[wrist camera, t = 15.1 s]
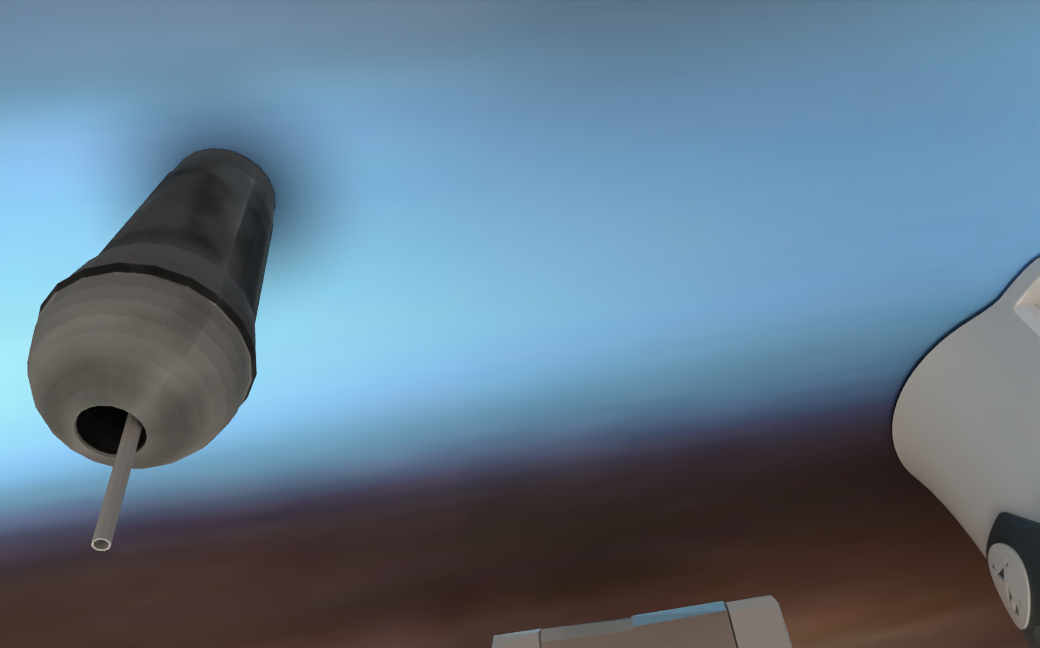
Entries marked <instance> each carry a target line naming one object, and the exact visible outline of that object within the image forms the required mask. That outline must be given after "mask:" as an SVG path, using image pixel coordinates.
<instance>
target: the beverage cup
mask: <svg viewBox="0 0 1040 648" xmlns="http://www.w3.org/2000/svg"><path fill="white" fill-rule="evenodd" d="M274 209H275V193H274V191H273V188H272V186H271V183H270V180H269V179H268V177H267V176H266V175H265V174H264V172H263V171H262V170H261V169H260V167H259V166H257V165H256V164H255V163H253V162H252V161H251V160H249V159H248V158H246V157H245V156H242V155H240V154H237V153H234V152H232V151H229V150H220V149H208V150H203V151H198V152H195V153H193V154H191V155H190V156H188V157H186V158H185V159H183V160H182V161H181V163H180V164H179V165H178V166H177V167H176V168H175V169H174V170H173V171H171V172H169V174H168V175H167V176H166V177H165V178H164V179H163V181H162V182H161V183H160V184H159V185H158V186H157V188H156V189H155V190H154V191H153V192H152V193H151V195H150V196H149V197H148V198H147V199H146V200H145V202H144V203H143V204H142V205H141V206H140V207H139V209H138V210H137V211H136V212H135V213H134V214H133V216H132V217H131V218H130V219H129V220H128V221H127V222H126V224H125V225H124V226H123V227H122V228H121V229H120V231H119V232H118V233H117V234H116V235H115V236H114V238H113V239H112V240H111V241H110V242H109V243H108V245H107V246H106V247H105V248H104V249H103V250H102V252H101V253H100V254H99V255H98V256H96V257H95V258H93V259H91V260H89V261H88V262H87V263H85V264H84V265H83V266H82V267H81V268H79V269H78V270H77V271H76V272H74V273H73V274H72V275H71V276H70V277H68V278H67V279H65V280H63V281H61V282H60V283H58V284H57V285H56V286H55V288H54V289H53V290H52V292H51V293H50V294H49V295H48V297H47V298H46V299H45V301H44V302H43V303H42V305H41V307H40V312H39V316H38V321H37V324H36V326H35V330H34V334H33V338H32V343H31V348H30V352H29V357H28V362H27V365H28V378H29V382H30V386H31V391H32V395H33V399H34V403H35V406H36V408H37V410H38V411H39V413H40V414H41V416H42V418H43V419H44V421H45V422H46V424H47V425H48V427H49V428H50V430H51V431H52V433H53V434H54V435H55V436H56V437H57V438H59V439H60V440H61V441H62V442H63V443H64V444H65V445H67V446H68V447H69V448H70V449H71V450H73V451H75V452H77V453H79V454H81V455H83V456H84V457H86V458H88V459H90V460H92V461H95V462H98V463H102V464H105V465H109V466H113V469H112V473H111V476H110V480H109V483H108V487H107V490H106V494H105V497H104V501H103V505H102V508H101V512H100V515H99V519H98V522H97V526H96V529H95V533H94V536H93V540H92V545H91V546H92V547H93V548H94V549H96V550H100V551H105V550H107V549H109V548H110V546H111V542H112V539H113V535H114V531H115V527H116V524H117V520H118V516H119V512H120V509H121V505H122V501H123V497H124V493H125V490H126V486H127V482H128V478H129V475H130V471H131V468H134V469H144V468H150V467H156V466H162V465H166V464H170V463H174V462H176V461H178V460H180V459H182V458H184V457H186V456H188V455H190V454H192V453H194V452H196V451H198V450H200V449H202V448H204V447H205V446H206V445H207V444H208V443H209V442H211V441H212V440H213V439H214V438H215V437H216V436H217V435H218V434H219V433H220V432H221V431H222V430H223V429H224V428H225V427H226V426H227V425H228V424H229V422H230V421H231V420H232V418H233V417H234V416H235V414H236V413H237V411H238V408H239V407H240V405H241V404H242V403H243V402H244V401H245V400H246V399H247V397H248V395H249V392H250V390H251V387H252V385H253V382H254V379H255V377H256V374H257V372H256V351H255V321H256V316H257V310H258V305H259V299H260V294H261V289H262V283H263V278H264V273H265V267H266V262H267V257H268V251H269V246H270V241H271V235H272V230H273V212H274Z"/></svg>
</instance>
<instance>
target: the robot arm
mask: <svg viewBox="0 0 1040 648" xmlns="http://www.w3.org/2000/svg"><path fill="white" fill-rule="evenodd" d="M892 435H893V442H894V446H895V450H896V452H897V455H898V457H899V459H900V461H901V462H902V464H903V465H904V466H905V468H906V469H907V470H908V471H909V472H910V473H911V474H912V475H913V476H914V477H915V478H916V479H918V480H919V481H920V482H921V483H922V484H924V485H925V486H926V487H927V488H928V489H929V490H930V491H931V492H932V493H933V494H934V495H935V496H936V497H937V498H938V499H939V500H940V501H941V502H942V503H943V504H944V506H945V507H946V508H947V509H948V510H949V511H950V512H951V514H952V515H953V516H954V517H955V518H956V520H957V521H958V522H959V523H960V524H961V526H962V527H963V528H964V529H965V531H966V532H967V533H968V535H969V536H970V537H971V539H972V540H973V541H974V542H975V544H976V545H977V547H978V548H979V549H980V551H981V552H982V554H983V555H984V556H985V558H986V560H987V566H988V569H989V571H990V574H991V576H992V579H993V581H994V584H995V586H996V589H997V591H998V593H999V595H1000V597H1001V599H1002V601H1003V603H1004V605H1005V607H1006V609H1007V611H1008V613H1009V615H1010V616H1011V618H1012V620H1013V621H1014V623H1015V624H1016V626H1017V627H1018V628H1019V629H1020V630H1021V632H1022V634H1023V636H1024V637H1025V639H1026V641H1027V643H1028V644H1029V646H1030V647H1031V648H1040V257H1039V258H1038V259H1036V260H1035V261H1034V262H1033V263H1031V264H1030V265H1029V266H1028V267H1027V268H1026V269H1025V270H1024V271H1023V272H1022V273H1021V274H1020V275H1019V276H1018V277H1017V279H1016V280H1015V281H1014V282H1013V283H1012V284H1011V286H1010V287H1009V288H1008V289H1007V290H1006V292H1005V293H1004V294H1003V295H1002V297H1001V298H1000V299H999V300H998V301H997V302H996V303H994V304H993V305H992V306H991V307H989V308H988V309H987V310H985V311H984V312H982V313H981V314H979V315H978V316H976V317H975V318H973V319H972V320H970V321H969V322H967V323H966V324H964V325H962V326H961V327H960V328H958V329H957V330H955V331H954V332H953V333H951V334H950V335H949V336H948V337H946V338H945V339H944V340H943V341H942V342H940V343H939V344H938V345H937V346H936V347H935V348H934V349H933V350H932V351H931V352H930V353H929V354H928V355H927V356H926V357H925V358H924V359H923V360H922V362H921V363H920V364H919V365H918V366H917V368H916V369H915V370H914V372H913V373H912V375H911V376H910V378H909V379H908V381H907V382H906V384H905V386H904V388H903V390H902V392H901V394H900V396H899V399H898V401H897V404H896V408H895V411H894V416H893V424H892ZM492 648H792V645H791V641H790V638H789V635H788V632H787V629H786V626H785V622H784V619H783V616H782V613H781V610H780V607H779V604H778V603H777V602H776V600H775V599H774V598H773V596H772V595H767V596H762V597H756V598H750V599H744V600H738V601H732V602H726V603H725V604H724V603H723V601H721V602H715V603H709V604H703V605H696V606H690V607H684V608H678V609H672V610H666V611H660V612H654V613H648V614H641V615H635V616H632V618H625V619H617V620H610V621H602V622H594V623H587V624H579V625H571V626H563V627H556V628H548V629H537V630H530V631H524V632H517V633H510V634H503V635H496V636H494V639H493V644H492Z"/></svg>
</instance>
